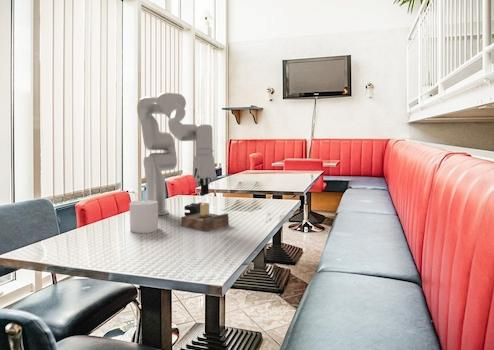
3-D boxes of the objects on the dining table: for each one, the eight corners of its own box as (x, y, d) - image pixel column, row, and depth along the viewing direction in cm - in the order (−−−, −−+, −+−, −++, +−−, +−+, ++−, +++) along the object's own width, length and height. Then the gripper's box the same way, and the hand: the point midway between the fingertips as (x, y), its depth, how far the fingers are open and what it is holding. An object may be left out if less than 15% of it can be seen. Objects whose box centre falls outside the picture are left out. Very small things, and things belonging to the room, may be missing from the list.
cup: (163, 227, 169) (162, 200, 168) (148, 234, 158) (147, 205, 157) (140, 225, 173) (140, 199, 172) (124, 231, 162) (123, 203, 161)
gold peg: (198, 225, 173) (198, 203, 172) (204, 224, 176) (204, 202, 175) (204, 227, 170) (204, 204, 169) (211, 225, 173) (210, 203, 172)
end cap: (197, 219, 186) (196, 206, 185) (184, 218, 188) (183, 205, 187) (206, 215, 195) (206, 202, 194) (193, 214, 197) (193, 201, 197)
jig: (181, 225, 173) (181, 214, 172) (203, 220, 183) (203, 209, 183) (206, 231, 163) (206, 219, 162) (228, 225, 173) (228, 214, 173)
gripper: (210, 151, 178) (210, 191, 179) (185, 153, 166) (186, 194, 168) (221, 152, 173) (222, 192, 175) (197, 153, 161) (198, 196, 163)
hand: (204, 193), depth 171 cm, fingers closed
